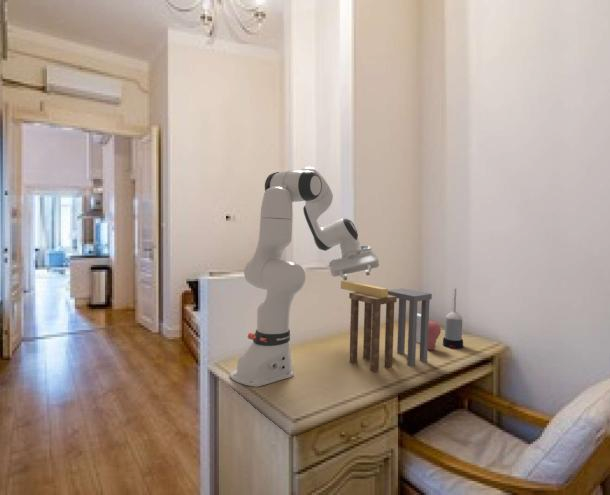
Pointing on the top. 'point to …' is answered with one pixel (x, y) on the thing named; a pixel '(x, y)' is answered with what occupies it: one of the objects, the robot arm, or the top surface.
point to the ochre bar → (365, 289)
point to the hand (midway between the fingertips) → (356, 276)
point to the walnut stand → (373, 320)
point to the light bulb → (433, 334)
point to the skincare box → (418, 328)
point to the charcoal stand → (412, 322)
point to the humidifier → (453, 329)
